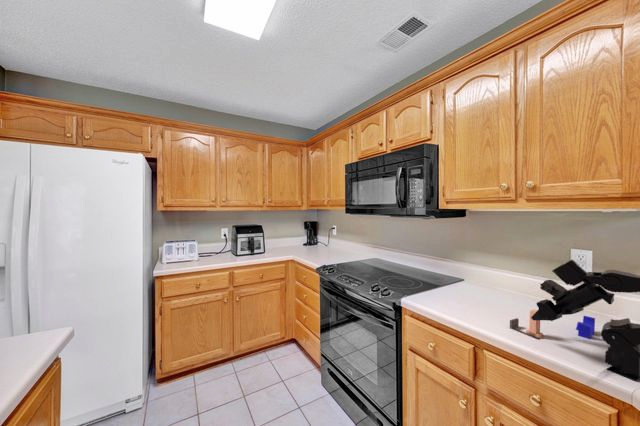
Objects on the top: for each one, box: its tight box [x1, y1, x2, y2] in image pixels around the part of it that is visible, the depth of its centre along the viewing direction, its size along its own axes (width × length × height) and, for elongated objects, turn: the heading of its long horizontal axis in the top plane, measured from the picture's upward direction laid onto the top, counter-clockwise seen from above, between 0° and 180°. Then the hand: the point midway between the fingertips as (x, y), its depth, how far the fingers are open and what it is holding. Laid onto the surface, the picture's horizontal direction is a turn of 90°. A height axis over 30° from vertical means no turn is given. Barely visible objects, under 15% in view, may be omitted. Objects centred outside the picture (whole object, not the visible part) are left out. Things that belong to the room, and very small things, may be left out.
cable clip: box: [575, 315, 596, 340], centre depth 99 cm, size 12×4×6 cm, turn 128°
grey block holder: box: [509, 317, 540, 340], centre depth 98 cm, size 10×5×4 cm, turn 24°
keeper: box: [525, 309, 544, 339], centre depth 96 cm, size 4×3×9 cm
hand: (539, 316), depth 95 cm, fingers open, 9 cm apart
